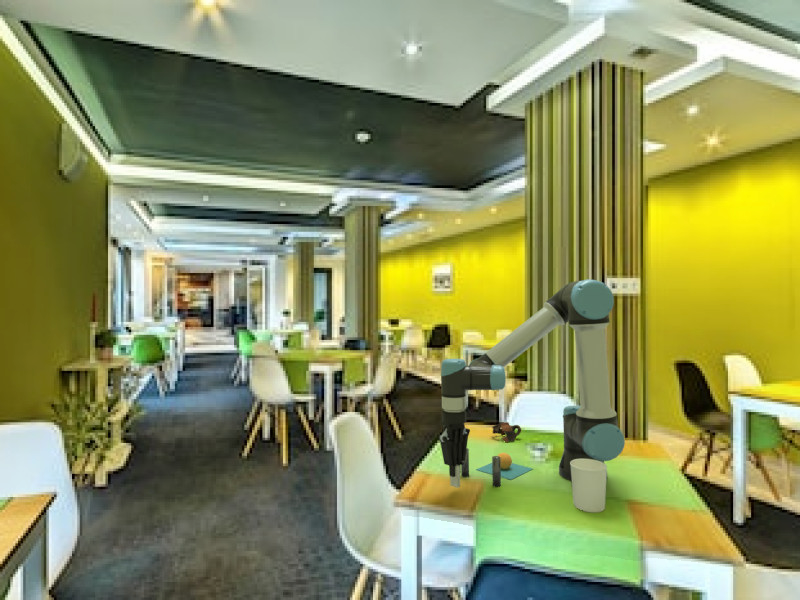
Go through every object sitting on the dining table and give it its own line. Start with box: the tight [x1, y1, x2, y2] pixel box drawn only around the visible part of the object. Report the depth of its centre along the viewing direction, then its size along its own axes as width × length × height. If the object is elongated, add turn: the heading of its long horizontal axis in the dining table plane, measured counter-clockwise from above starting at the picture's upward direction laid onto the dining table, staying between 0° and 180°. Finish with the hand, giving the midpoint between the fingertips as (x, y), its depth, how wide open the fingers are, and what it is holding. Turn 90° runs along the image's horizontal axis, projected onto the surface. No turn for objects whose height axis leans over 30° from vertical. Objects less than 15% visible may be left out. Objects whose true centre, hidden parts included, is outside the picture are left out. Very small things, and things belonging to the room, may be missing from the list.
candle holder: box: [570, 459, 608, 514], centre depth 136 cm, size 10×10×12 cm
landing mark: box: [475, 462, 534, 481], centre depth 167 cm, size 14×14×1 cm
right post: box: [491, 455, 502, 488], centre depth 153 cm, size 3×3×9 cm
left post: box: [460, 447, 470, 478], centre depth 162 cm, size 3×3×9 cm
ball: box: [497, 452, 513, 469], centre depth 168 cm, size 6×6×6 cm
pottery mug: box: [492, 422, 522, 443], centre depth 204 cm, size 12×10×8 cm
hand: (455, 485), depth 148 cm, fingers closed
